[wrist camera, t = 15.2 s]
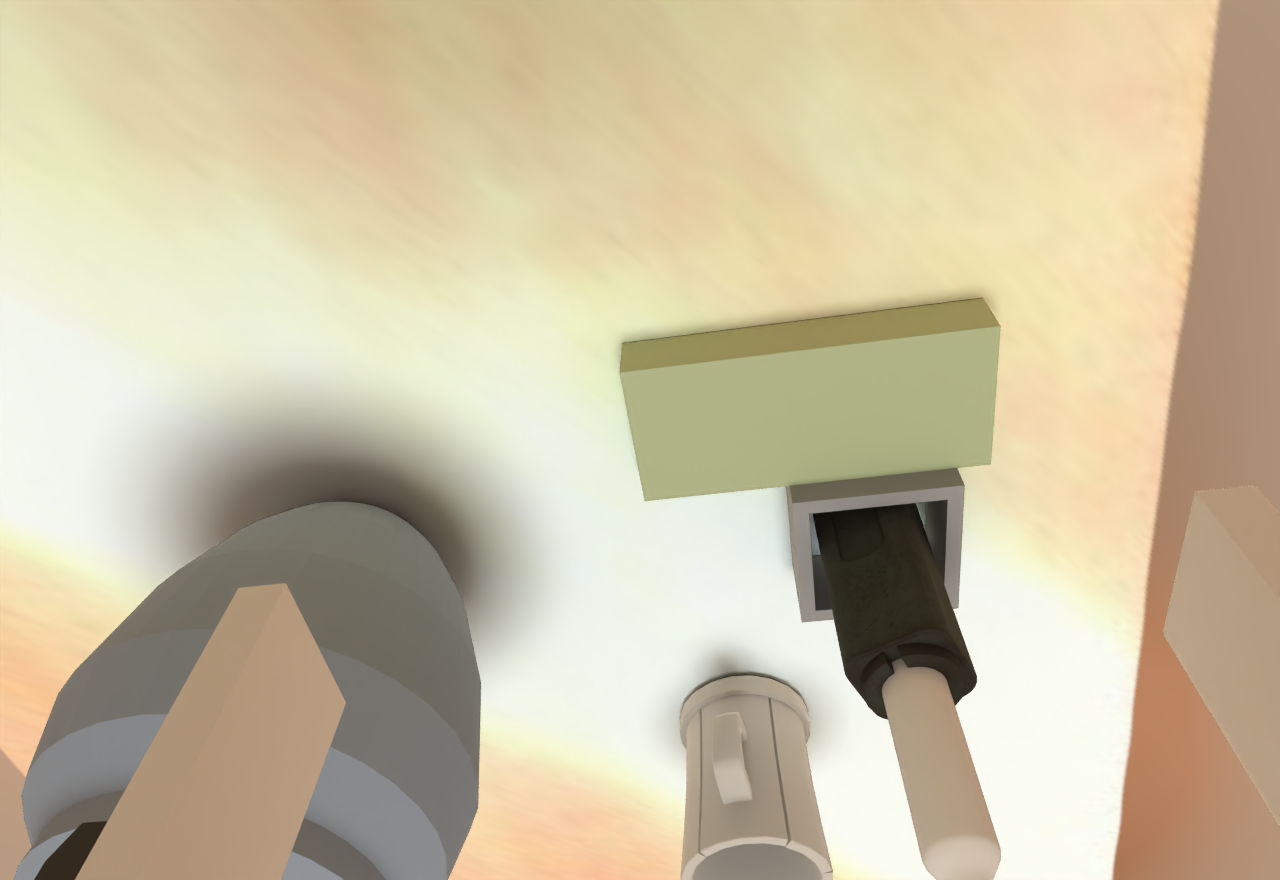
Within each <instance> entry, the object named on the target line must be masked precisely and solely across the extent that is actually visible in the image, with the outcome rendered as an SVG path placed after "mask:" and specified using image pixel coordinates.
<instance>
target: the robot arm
mask: <svg viewBox="0 0 1280 880" xmlns="http://www.w3.org/2000/svg"><path fill="white" fill-rule="evenodd" d="M1163 634H1164V636H1165V638H1166V639H1167V641H1168V643H1169V644H1170V646H1171V648H1172V649H1173V651H1174V653H1175V654H1176V656H1177V658H1178V659H1179V661H1180V662H1181V664H1182V666H1183V668H1184V669H1185V671H1186V672H1187V674H1188V676H1189V678H1190V679H1191V681H1192V682H1193V684H1194V686H1195V687H1196V689H1197V691H1198V693H1199V694H1200V696H1201V698H1202V699H1203V701H1204V703H1205V704H1206V706H1207V707H1208V709H1209V711H1210V712H1211V714H1212V716H1213V717H1214V719H1215V721H1216V722H1217V724H1218V726H1219V727H1220V729H1221V731H1222V732H1223V734H1224V736H1225V737H1226V739H1227V741H1228V742H1229V744H1230V746H1231V747H1232V749H1233V751H1234V752H1235V754H1236V756H1237V757H1238V759H1239V761H1240V762H1241V764H1242V766H1243V767H1244V769H1245V771H1246V772H1247V774H1248V776H1249V777H1250V779H1251V781H1252V782H1253V784H1254V785H1255V787H1256V789H1257V791H1258V792H1259V794H1260V796H1261V797H1262V799H1263V801H1264V802H1265V804H1266V806H1267V807H1268V809H1269V810H1270V812H1271V814H1272V816H1273V817H1274V819H1275V821H1276V822H1277V824H1278V826H1279V827H1280V514H1279V513H1278V511H1277V510H1276V509H1275V508H1274V507H1273V506H1272V504H1271V503H1270V502H1269V501H1268V500H1267V499H1266V497H1265V496H1264V495H1263V494H1262V493H1261V492H1260V491H1259V489H1258V488H1257V487H1256V486H1255V485H1253V486H1244V487H1234V488H1224V489H1215V490H1204V491H1196V492H1195V495H1194V499H1193V504H1192V508H1191V512H1190V517H1189V521H1188V526H1187V530H1186V534H1185V539H1184V543H1183V547H1182V552H1181V556H1180V561H1179V566H1178V569H1177V574H1176V578H1175V582H1174V587H1173V591H1172V596H1171V600H1170V605H1169V609H1168V614H1167V618H1166V622H1165V626H1164V631H1163ZM345 704H346V702H345V700H344V698H343V696H342V694H341V692H340V690H339V688H338V686H337V684H336V682H335V680H334V678H333V676H332V674H331V672H330V670H329V668H328V666H327V664H326V662H325V660H324V658H323V656H322V654H321V652H320V650H319V648H318V646H317V644H316V642H315V640H314V638H313V636H312V634H311V632H310V630H309V628H308V626H307V624H306V622H305V620H304V618H303V616H302V614H301V612H300V610H299V608H298V606H297V604H296V602H295V600H294V598H293V596H292V594H291V592H290V590H289V588H288V586H287V584H286V583H282V584H272V585H262V586H252V587H242V588H238V590H237V592H236V593H235V595H234V597H233V599H232V600H231V602H230V604H229V606H228V608H227V609H226V611H225V613H224V615H223V617H222V618H221V620H220V622H219V624H218V625H217V627H216V629H215V631H214V633H213V634H212V636H211V638H210V640H209V642H208V643H207V645H206V647H205V649H204V650H203V652H202V654H201V656H200V658H199V659H198V661H197V663H196V665H195V666H194V668H193V670H192V672H191V674H190V675H189V677H188V679H187V681H186V683H185V684H184V686H183V688H182V690H181V691H180V693H179V695H178V697H177V699H176V700H175V702H174V704H173V706H172V708H171V709H170V711H169V713H168V715H167V716H166V718H165V720H164V722H163V724H162V725H161V727H160V729H159V731H158V733H157V734H156V736H155V738H154V740H153V741H152V743H151V745H150V747H149V749H148V750H147V752H146V754H145V756H144V757H143V759H142V761H141V763H140V765H139V766H138V768H137V770H136V772H135V774H134V775H133V777H132V779H131V781H130V782H129V784H128V786H127V788H126V790H125V791H124V793H123V795H122V797H121V799H120V800H119V802H118V804H117V806H116V807H115V809H114V811H113V813H112V815H111V816H110V818H109V820H108V821H99V822H85V823H81V825H80V826H79V827H78V828H77V829H76V830H75V831H74V832H73V833H72V834H71V835H70V836H69V837H68V838H67V839H66V840H65V841H64V842H63V843H62V844H61V845H60V846H59V847H58V848H57V849H56V851H55V852H54V853H53V854H52V855H51V856H50V857H49V858H48V859H47V860H46V861H45V862H44V864H43V866H42V867H41V869H40V871H39V872H38V874H37V876H36V877H35V879H34V880H281V879H282V876H283V873H284V871H285V868H286V865H287V862H288V860H289V857H290V854H291V852H292V849H293V846H294V843H295V841H296V838H297V835H298V832H299V830H300V827H301V824H302V822H303V819H304V816H305V813H306V811H307V808H308V805H309V802H310V800H311V797H312V794H313V792H314V789H315V786H316V783H317V781H318V778H319V775H320V772H321V770H322V767H323V764H324V762H325V759H326V756H327V753H328V751H329V748H330V745H331V742H332V740H333V737H334V734H335V732H336V729H337V726H338V723H339V721H340V718H341V715H342V712H343V710H344V707H345Z"/></svg>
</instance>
